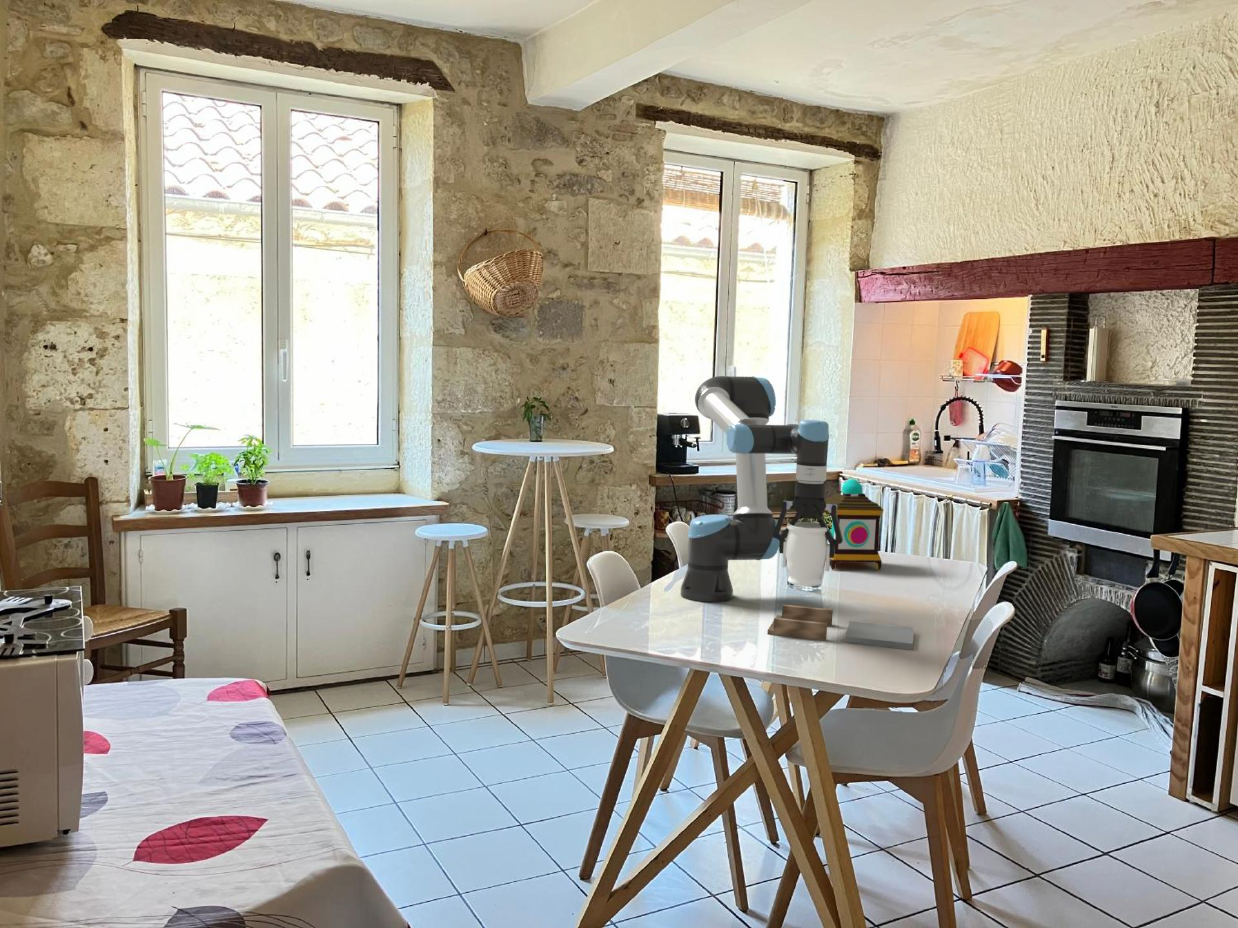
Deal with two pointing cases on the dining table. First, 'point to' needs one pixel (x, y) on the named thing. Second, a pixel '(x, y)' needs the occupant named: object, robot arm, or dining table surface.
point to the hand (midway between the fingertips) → (805, 568)
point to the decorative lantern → (856, 526)
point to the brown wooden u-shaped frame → (802, 622)
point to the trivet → (880, 635)
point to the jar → (806, 553)
